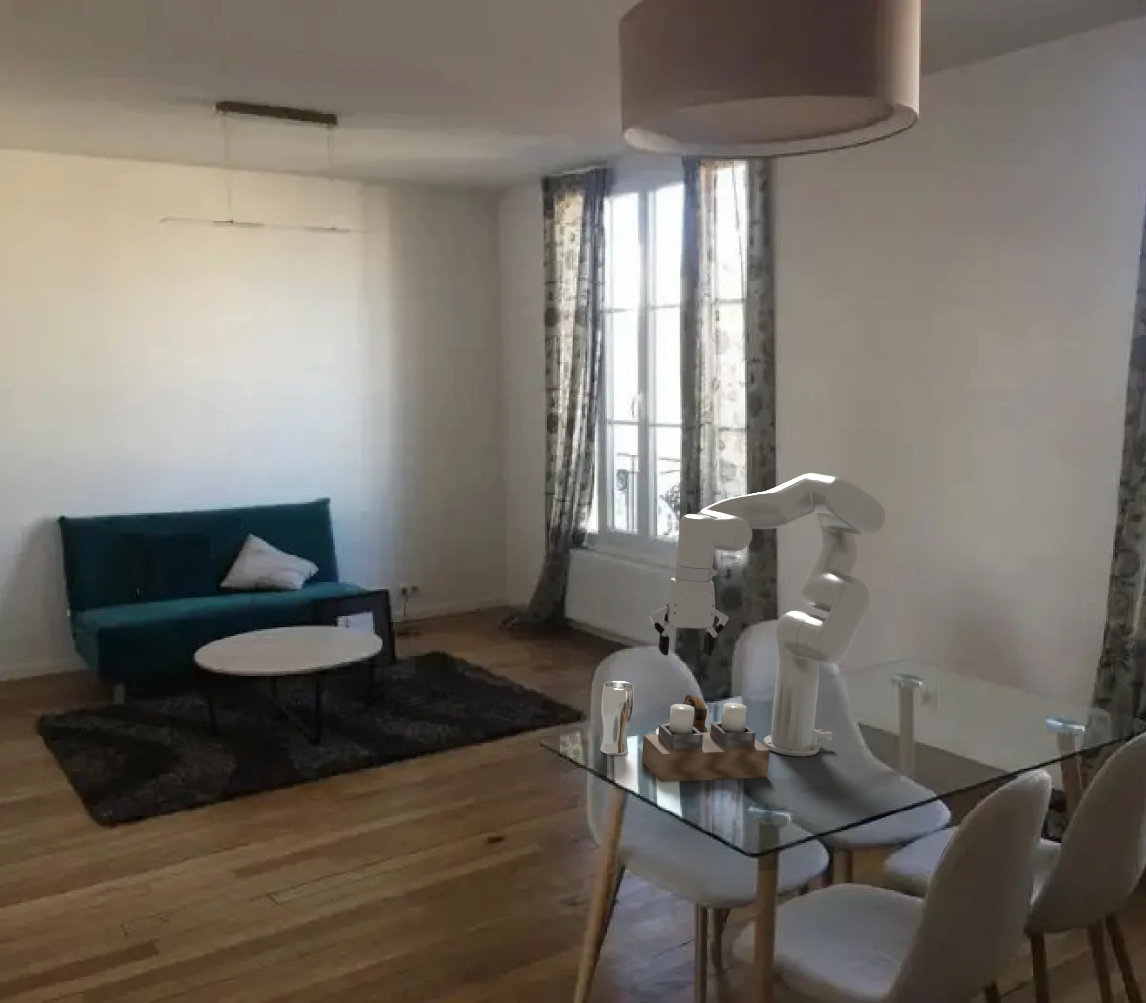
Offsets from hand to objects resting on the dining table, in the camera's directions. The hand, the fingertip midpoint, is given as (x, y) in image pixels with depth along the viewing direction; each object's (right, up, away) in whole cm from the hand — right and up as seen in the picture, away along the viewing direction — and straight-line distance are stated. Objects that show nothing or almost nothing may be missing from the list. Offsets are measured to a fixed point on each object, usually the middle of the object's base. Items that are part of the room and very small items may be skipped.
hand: (685, 654), depth 249 cm
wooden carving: (+3, -23, +24) cm, 33 cm away
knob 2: (+11, -17, +5) cm, 20 cm away
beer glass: (-15, -23, +12) cm, 30 cm away
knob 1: (-1, -16, +2) cm, 17 cm away
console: (+4, -25, +5) cm, 26 cm away
